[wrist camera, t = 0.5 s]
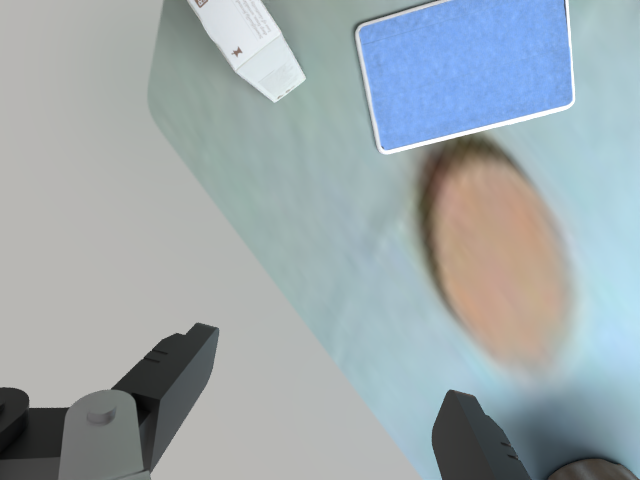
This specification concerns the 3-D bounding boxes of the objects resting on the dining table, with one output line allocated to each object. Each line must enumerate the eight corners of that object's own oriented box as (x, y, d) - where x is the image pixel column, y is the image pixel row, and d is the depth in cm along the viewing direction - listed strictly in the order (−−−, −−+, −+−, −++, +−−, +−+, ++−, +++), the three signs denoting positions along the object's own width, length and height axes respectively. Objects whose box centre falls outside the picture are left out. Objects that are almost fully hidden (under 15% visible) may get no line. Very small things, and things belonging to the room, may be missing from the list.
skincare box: (308, 78, 33) (289, 32, 21) (273, 106, 34) (235, 75, 22) (272, 23, 32) (232, -57, 21) (237, 52, 33) (178, -9, 21)
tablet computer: (559, -33, 30) (568, -42, 29) (570, 109, 33) (579, 107, 31) (352, 29, 32) (352, 24, 31) (378, 157, 35) (379, 157, 34)
